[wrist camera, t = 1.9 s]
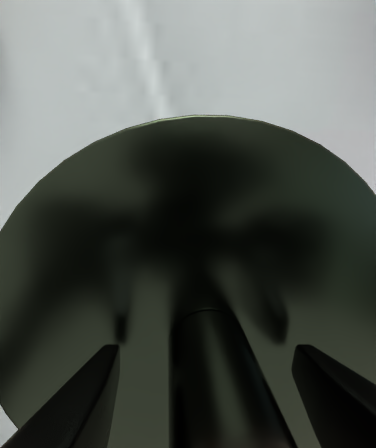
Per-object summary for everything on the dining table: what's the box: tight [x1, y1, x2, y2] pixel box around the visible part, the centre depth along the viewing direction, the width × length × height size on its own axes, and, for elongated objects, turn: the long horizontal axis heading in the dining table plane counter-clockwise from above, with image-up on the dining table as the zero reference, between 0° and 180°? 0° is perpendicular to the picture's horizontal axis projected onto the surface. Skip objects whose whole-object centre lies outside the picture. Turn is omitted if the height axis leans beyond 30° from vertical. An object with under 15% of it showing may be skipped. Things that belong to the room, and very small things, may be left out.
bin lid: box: [0, 115, 376, 448], centre depth 6 cm, size 13×13×5 cm
